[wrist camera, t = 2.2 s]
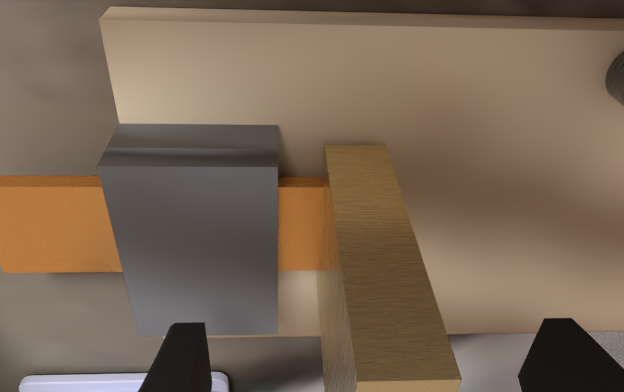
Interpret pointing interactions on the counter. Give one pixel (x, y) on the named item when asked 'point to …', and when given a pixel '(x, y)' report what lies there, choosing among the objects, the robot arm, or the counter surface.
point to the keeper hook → (616, 79)
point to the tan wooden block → (283, 262)
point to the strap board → (366, 131)
